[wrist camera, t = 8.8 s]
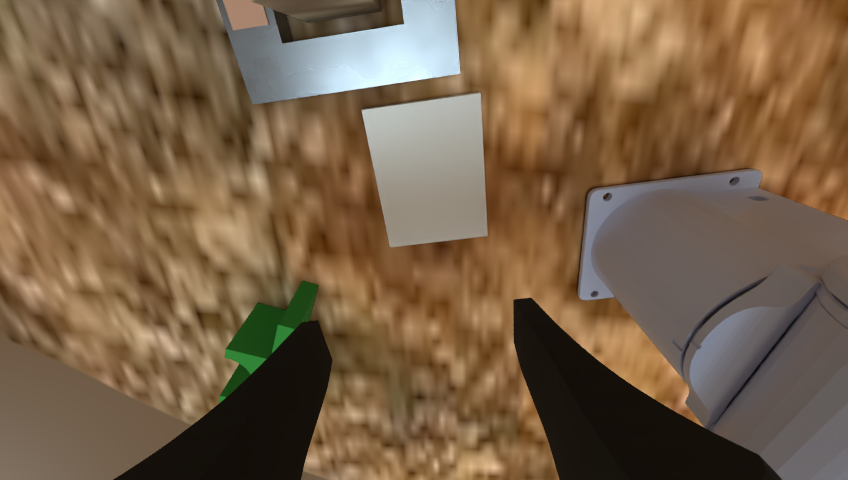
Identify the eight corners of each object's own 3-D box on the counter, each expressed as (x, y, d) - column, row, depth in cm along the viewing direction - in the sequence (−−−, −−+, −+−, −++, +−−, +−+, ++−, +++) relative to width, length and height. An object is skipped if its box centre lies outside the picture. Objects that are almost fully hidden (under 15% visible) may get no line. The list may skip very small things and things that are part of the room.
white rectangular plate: (478, 91, 17) (480, 92, 16) (485, 230, 21) (487, 235, 20) (364, 108, 17) (361, 110, 17) (391, 241, 21) (390, 247, 20)
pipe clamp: (265, 267, 22) (230, 311, 18) (319, 283, 23) (298, 329, 19) (245, 376, 27) (214, 430, 23) (291, 387, 28) (268, 441, 24)
